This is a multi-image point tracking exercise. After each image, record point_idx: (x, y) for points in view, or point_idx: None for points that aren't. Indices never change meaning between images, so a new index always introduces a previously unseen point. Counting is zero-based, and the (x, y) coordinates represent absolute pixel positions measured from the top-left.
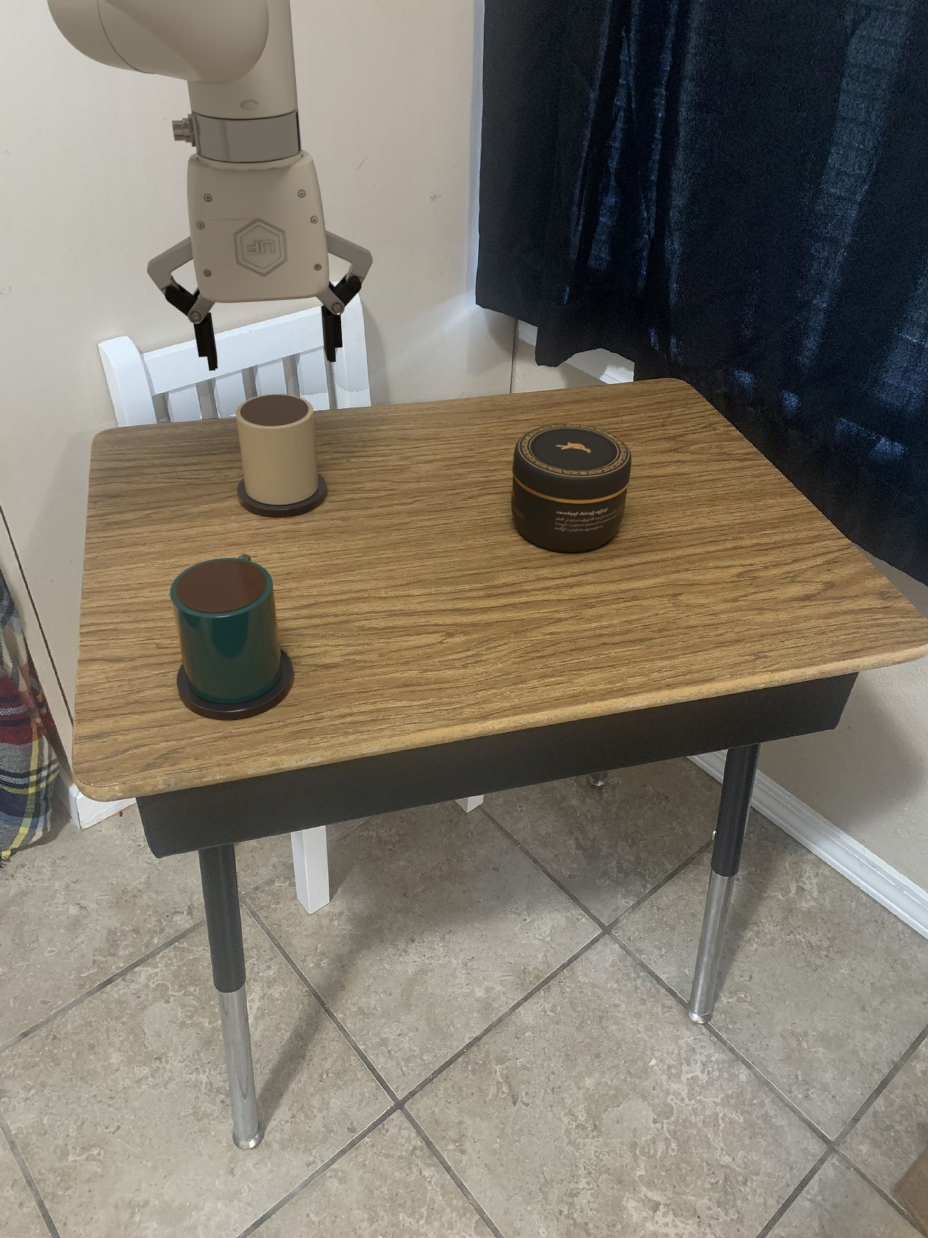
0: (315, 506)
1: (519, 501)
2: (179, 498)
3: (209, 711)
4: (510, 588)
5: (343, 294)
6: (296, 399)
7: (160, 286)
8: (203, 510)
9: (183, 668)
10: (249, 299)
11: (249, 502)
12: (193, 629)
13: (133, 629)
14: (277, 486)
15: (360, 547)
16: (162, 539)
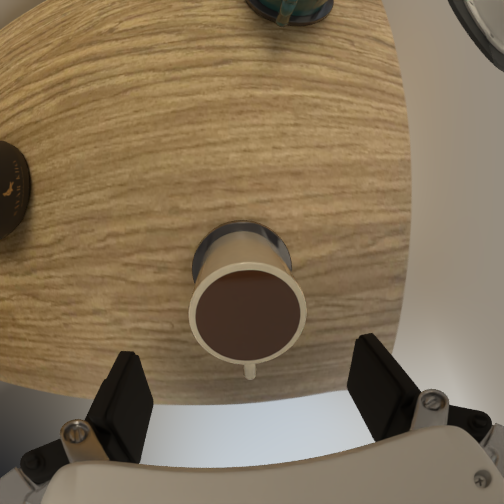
0: (206, 235)
1: (8, 169)
2: (345, 270)
3: None
4: (52, 92)
5: (60, 456)
6: (214, 345)
7: (499, 428)
8: (325, 244)
9: (330, 3)
10: (334, 457)
11: (279, 241)
12: None
13: (373, 67)
14: (247, 236)
15: (161, 152)
16: (363, 196)
